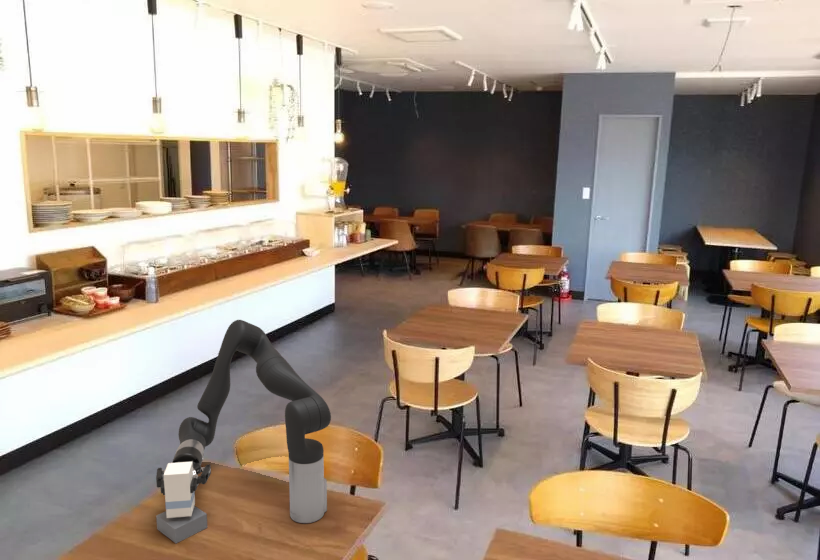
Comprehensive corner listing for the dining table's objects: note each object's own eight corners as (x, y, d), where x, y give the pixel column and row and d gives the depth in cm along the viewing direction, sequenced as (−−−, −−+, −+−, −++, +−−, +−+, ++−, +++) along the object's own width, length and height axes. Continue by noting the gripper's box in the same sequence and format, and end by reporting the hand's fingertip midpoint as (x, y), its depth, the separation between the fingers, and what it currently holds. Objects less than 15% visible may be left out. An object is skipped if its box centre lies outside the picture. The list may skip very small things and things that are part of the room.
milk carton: (170, 504, 166) (168, 463, 164) (195, 502, 167) (192, 461, 165) (166, 518, 160) (163, 475, 158) (191, 516, 162) (188, 473, 159)
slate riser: (188, 514, 171) (187, 501, 170) (207, 527, 166) (206, 513, 165) (157, 529, 164) (156, 515, 164) (175, 543, 159) (174, 529, 158)
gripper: (160, 447, 174) (146, 479, 158) (214, 444, 177) (206, 475, 160) (162, 472, 176) (148, 506, 160) (216, 468, 178) (208, 502, 162)
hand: (177, 490), depth 160 cm, fingers closed on milk carton, 6 cm apart
